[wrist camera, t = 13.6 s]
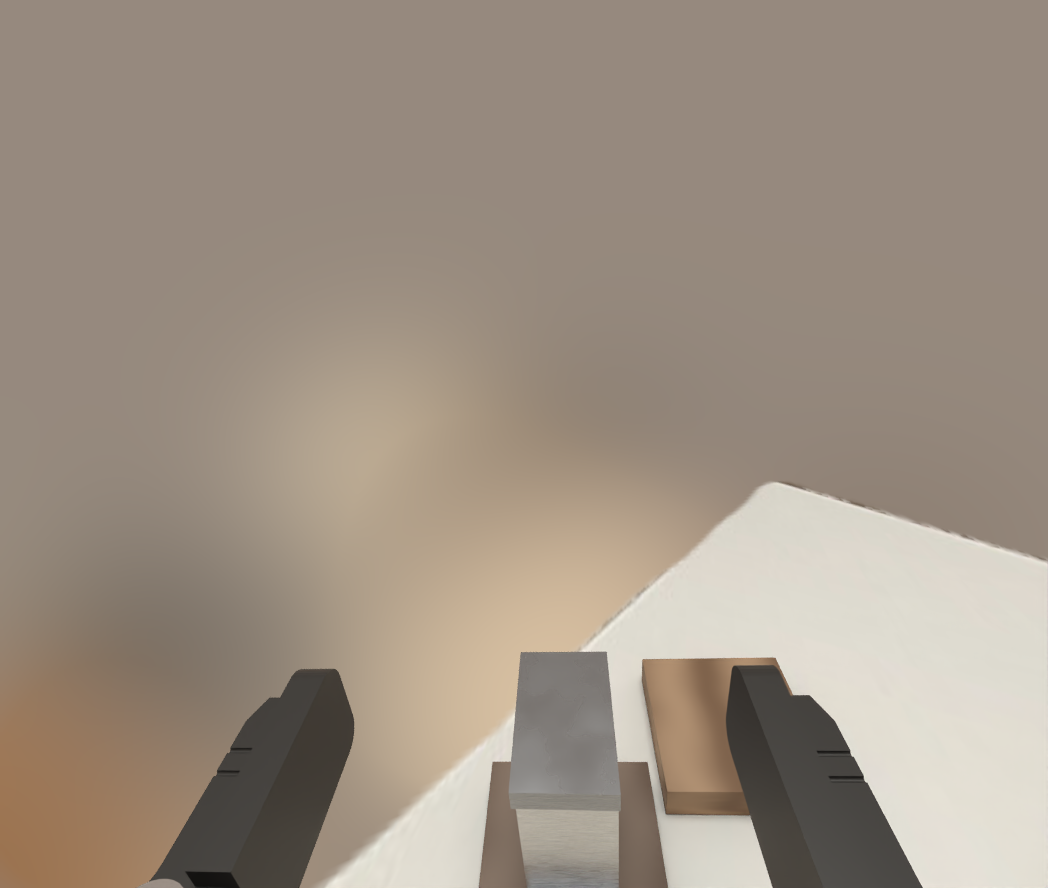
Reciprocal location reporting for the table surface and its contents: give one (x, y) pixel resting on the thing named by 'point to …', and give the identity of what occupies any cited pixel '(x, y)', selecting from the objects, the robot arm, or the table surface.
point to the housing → (566, 771)
